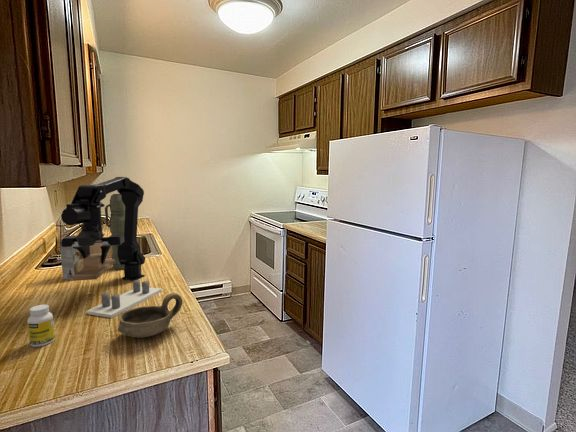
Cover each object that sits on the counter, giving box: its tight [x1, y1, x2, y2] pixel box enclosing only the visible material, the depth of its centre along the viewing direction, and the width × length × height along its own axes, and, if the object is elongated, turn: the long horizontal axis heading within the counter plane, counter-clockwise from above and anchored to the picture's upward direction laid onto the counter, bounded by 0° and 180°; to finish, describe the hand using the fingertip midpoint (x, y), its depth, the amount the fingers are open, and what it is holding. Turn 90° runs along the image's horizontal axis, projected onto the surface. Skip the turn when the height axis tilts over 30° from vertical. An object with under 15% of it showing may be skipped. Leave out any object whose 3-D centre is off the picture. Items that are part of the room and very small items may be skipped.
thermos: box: [104, 193, 125, 271], centre depth 152 cm, size 9×12×35 cm
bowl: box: [117, 292, 183, 338], centre depth 92 cm, size 14×18×10 cm
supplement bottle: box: [26, 304, 56, 348], centre depth 86 cm, size 5×5×10 cm
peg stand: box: [85, 279, 163, 319], centre depth 114 cm, size 24×10×5 cm, turn 164°
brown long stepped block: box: [72, 252, 115, 282], centre depth 116 cm, size 20×7×6 cm, turn 12°
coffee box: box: [59, 241, 91, 281], centre depth 139 cm, size 9×6×16 cm
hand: (95, 263), depth 116 cm, fingers closed on brown long stepped block, 4 cm apart
